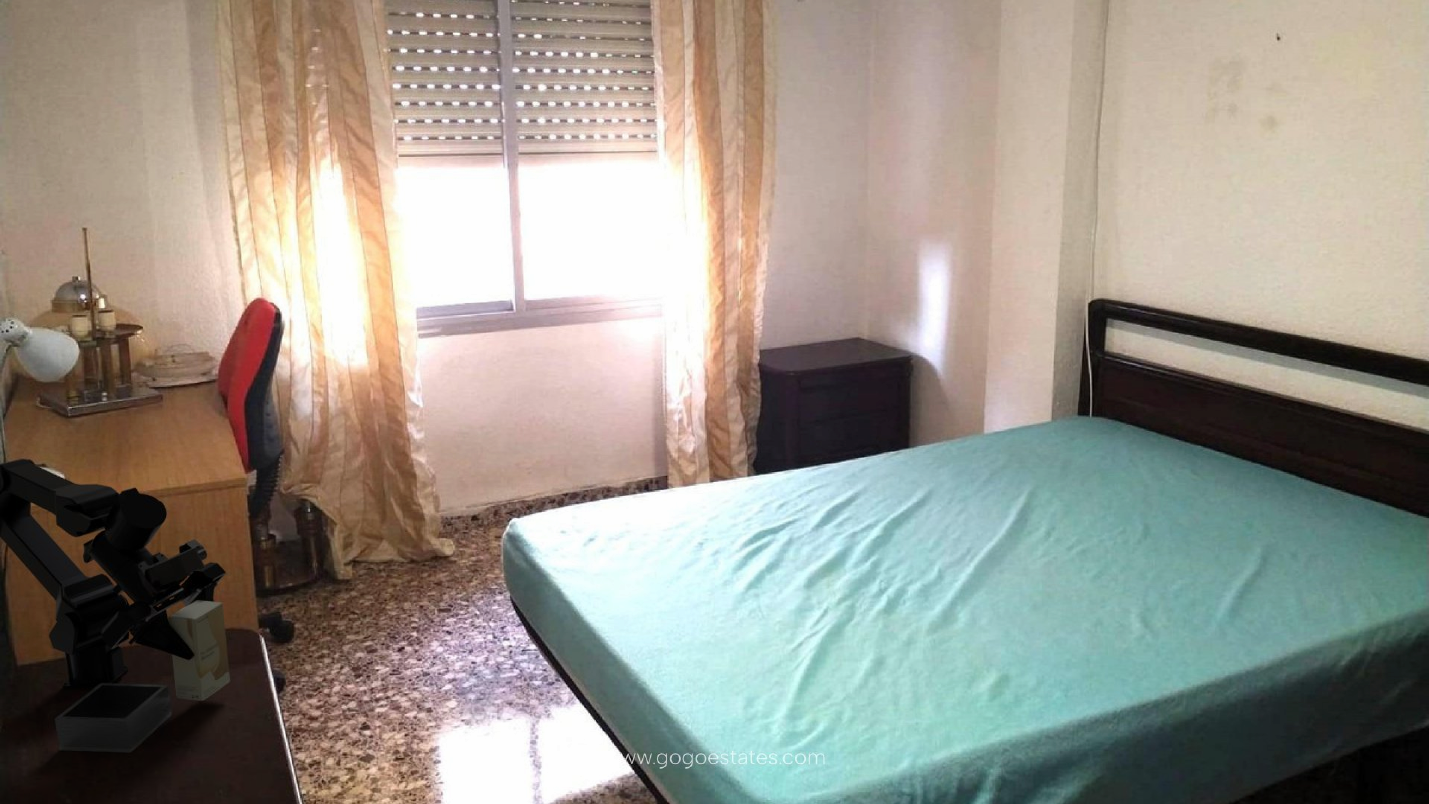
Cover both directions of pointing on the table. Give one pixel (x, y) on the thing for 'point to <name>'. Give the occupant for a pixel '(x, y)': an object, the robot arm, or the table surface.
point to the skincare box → (201, 650)
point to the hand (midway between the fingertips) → (208, 647)
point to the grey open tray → (113, 717)
